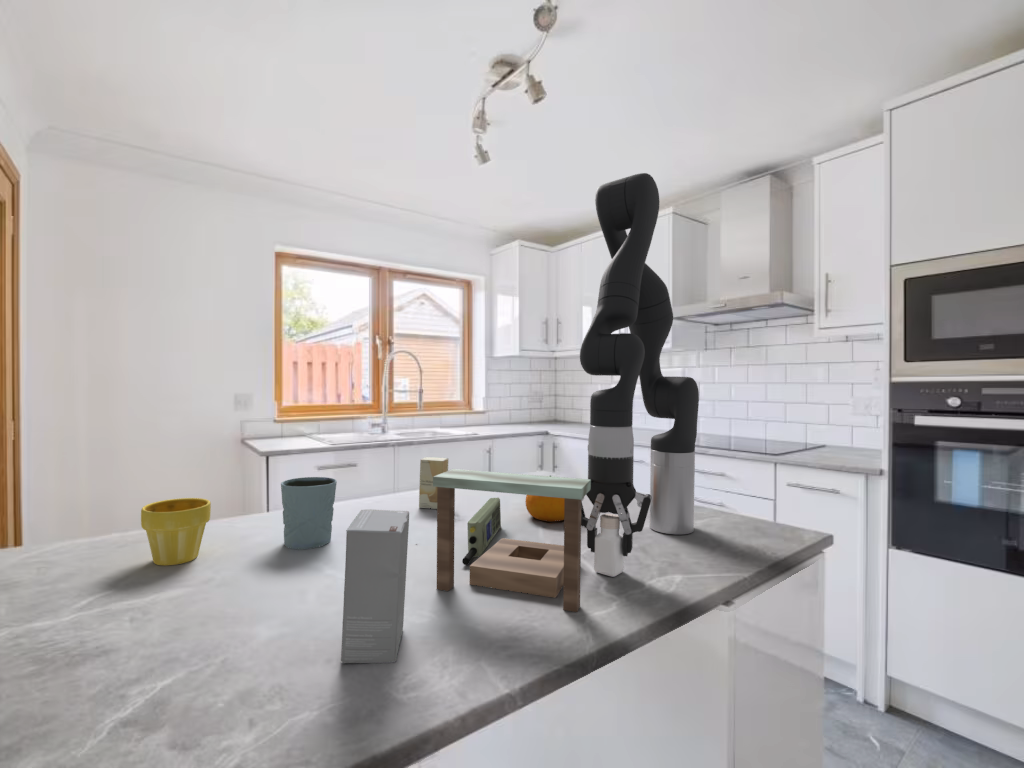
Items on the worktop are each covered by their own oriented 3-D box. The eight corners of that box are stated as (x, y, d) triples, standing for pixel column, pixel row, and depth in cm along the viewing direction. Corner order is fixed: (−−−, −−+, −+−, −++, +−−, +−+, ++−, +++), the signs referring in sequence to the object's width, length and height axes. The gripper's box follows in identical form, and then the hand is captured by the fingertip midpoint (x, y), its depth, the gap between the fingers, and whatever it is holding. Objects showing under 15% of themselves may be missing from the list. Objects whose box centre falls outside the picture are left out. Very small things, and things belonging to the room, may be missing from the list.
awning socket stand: (479, 551, 97) (480, 458, 97) (602, 567, 89) (603, 466, 89) (432, 590, 79) (433, 476, 79) (579, 614, 72) (581, 488, 71)
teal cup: (268, 546, 99) (269, 483, 99) (308, 531, 108) (308, 474, 108) (310, 553, 95) (310, 488, 95) (347, 537, 104) (347, 478, 104)
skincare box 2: (418, 508, 128) (418, 459, 128) (424, 504, 132) (424, 456, 132) (443, 509, 127) (443, 460, 127) (448, 505, 131) (448, 457, 131)
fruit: (578, 525, 115) (579, 480, 114) (525, 524, 115) (526, 480, 115) (572, 511, 126) (573, 471, 126) (524, 511, 126) (525, 470, 126)
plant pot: (218, 559, 92) (219, 504, 91) (149, 575, 84) (149, 515, 84) (200, 545, 99) (200, 494, 99) (134, 559, 91) (134, 504, 91)
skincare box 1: (354, 630, 67) (355, 508, 66) (410, 628, 67) (411, 507, 67) (337, 667, 58) (338, 527, 58) (402, 665, 59) (403, 526, 59)
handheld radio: (503, 527, 113) (475, 569, 89) (488, 527, 114) (457, 568, 89) (502, 497, 113) (474, 530, 89) (487, 497, 114) (455, 530, 89)
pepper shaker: (604, 566, 90) (605, 511, 90) (625, 571, 88) (626, 516, 87) (592, 572, 87) (593, 516, 87) (614, 578, 84) (615, 521, 84)
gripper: (656, 451, 88) (654, 551, 88) (573, 447, 93) (572, 541, 93) (653, 458, 81) (651, 566, 81) (564, 452, 86) (562, 554, 86)
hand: (609, 552), depth 87 cm, fingers closed on pepper shaker, 4 cm apart
